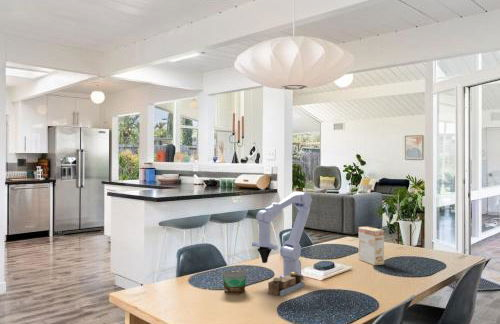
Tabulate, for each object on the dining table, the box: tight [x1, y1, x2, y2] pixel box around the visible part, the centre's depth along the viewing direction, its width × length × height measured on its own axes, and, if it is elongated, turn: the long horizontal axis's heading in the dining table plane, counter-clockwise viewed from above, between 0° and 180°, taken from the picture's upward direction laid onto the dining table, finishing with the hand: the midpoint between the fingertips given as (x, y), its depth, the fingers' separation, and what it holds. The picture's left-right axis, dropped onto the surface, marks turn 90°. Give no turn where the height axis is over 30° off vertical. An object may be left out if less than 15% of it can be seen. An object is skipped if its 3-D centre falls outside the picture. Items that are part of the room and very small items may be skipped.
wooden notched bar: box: [267, 274, 303, 297], centre depth 199 cm, size 19×5×5 cm, turn 139°
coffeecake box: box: [357, 225, 385, 266], centre depth 248 cm, size 15×7×20 cm, turn 22°
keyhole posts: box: [272, 272, 298, 284], centre depth 199 cm, size 17×4×6 cm, turn 140°
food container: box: [220, 269, 248, 295], centre depth 195 cm, size 12×6×10 cm, turn 105°
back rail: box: [279, 281, 305, 297], centre depth 197 cm, size 18×1×2 cm, turn 140°
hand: (264, 262), depth 210 cm, fingers closed
